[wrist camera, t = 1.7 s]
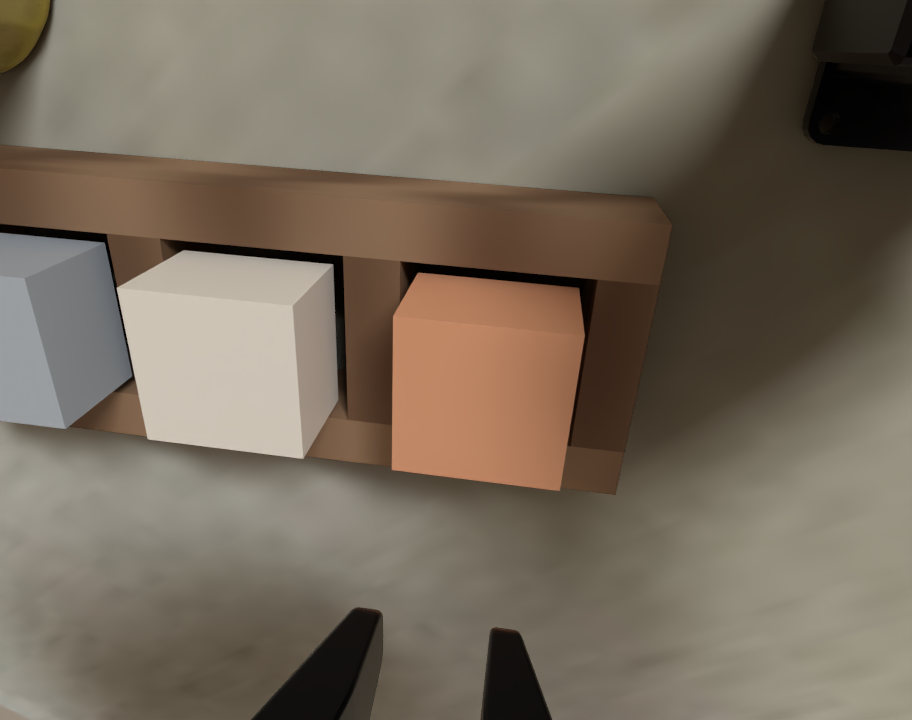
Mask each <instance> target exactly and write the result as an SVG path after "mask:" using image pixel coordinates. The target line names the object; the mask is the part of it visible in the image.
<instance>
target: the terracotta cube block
mask: <svg viewBox="0 0 912 720" xmlns="http://www.w3.org/2000/svg"><path fill="white" fill-rule="evenodd" d="M584 338H585V333H584V325H583V317H582V309H581V301H580V293H579V288H576V287H565V286H555V285H544V284H534V283H523V282H513V281H502V280H492V279H481V278H471V277H460V276H450V275H439V274H429V273H418V274H417V275H416V277H415V279H414V281H413V282H412V284H411V286H410V287H409V289H408V291H407V293H406V294H405V296H404V298H403V300H402V301H401V303H400V305H399V307H398V308H397V310H396V312H395V314H394V315H393V385H392V470H396V471H404V472H412V473H420V474H428V475H436V476H444V477H452V478H460V479H468V480H476V481H484V482H492V483H500V484H508V485H516V486H524V487H532V488H540V489H548V490H556V491H560V486H561V480H562V474H563V468H564V462H565V455H566V449H567V443H568V437H569V431H570V424H571V418H572V412H573V406H574V400H575V393H576V387H577V381H578V375H579V369H580V362H581V356H582V350H583V344H584Z"/></svg>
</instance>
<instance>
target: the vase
mask: <svg viewBox="0 0 912 720" xmlns="http://www.w3.org/2000/svg"><path fill="white" fill-rule="evenodd" d="M49 8H50V0H0V73H2V72H5V71H8V70H10V69H12V68H14V67H15V66H16V65H18V64H19V63H20V62H22V61H23V60H24V59H25V58H26V57H27V56H28V55H29V53H30V52H31V50H32V49H33V48H34V46H35V44H36V42H37V40H38V39H39V37H40V34H41V32H42V30H43V28H44V25H45V23H46V21H47V18H48V13H49Z"/></svg>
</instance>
